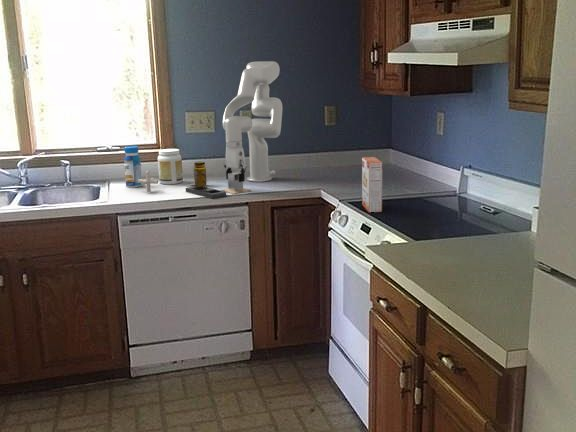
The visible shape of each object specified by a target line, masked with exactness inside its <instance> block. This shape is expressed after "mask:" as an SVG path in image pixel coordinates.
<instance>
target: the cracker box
mask: <svg viewBox="0 0 576 432" xmlns="http://www.w3.org/2000/svg"><path fill="white" fill-rule="evenodd" d="M361 189H362V190H361V201H362V202H361V205H362V206H363V208H364V209H365V210H366V211H367V212H368V213H369V214H372V213H371V212H374V213H382V212H383V161H381V160H380V159H378V158H377V157H375V156H364V157H363V156H362V158H361Z"/></svg>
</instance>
